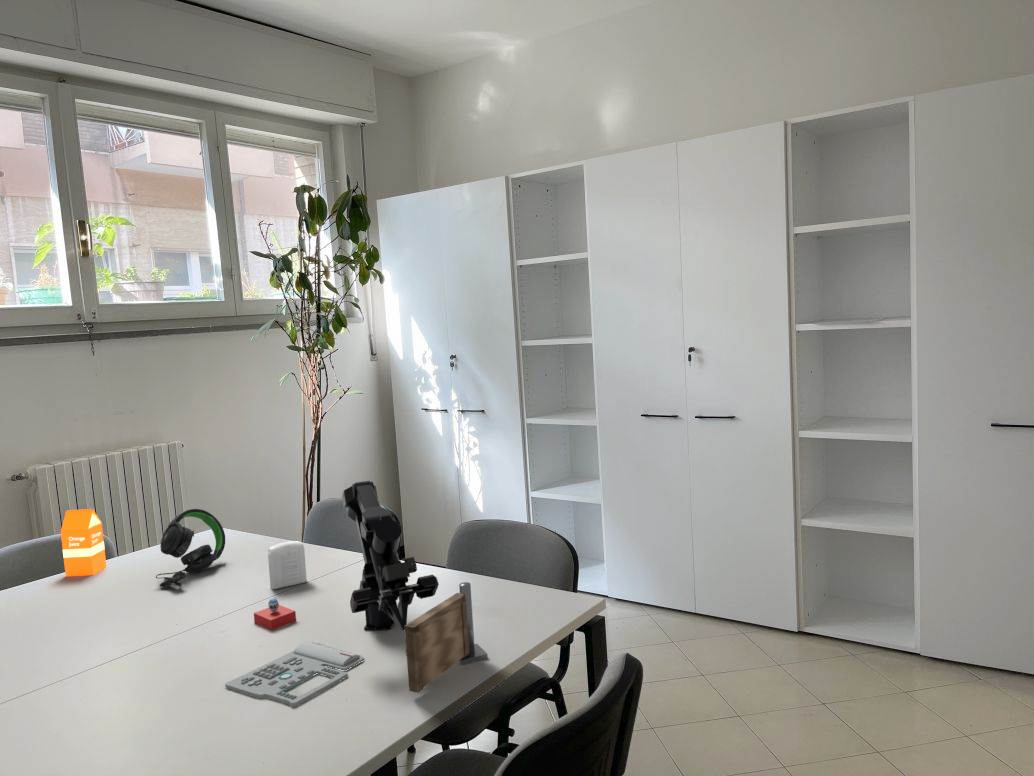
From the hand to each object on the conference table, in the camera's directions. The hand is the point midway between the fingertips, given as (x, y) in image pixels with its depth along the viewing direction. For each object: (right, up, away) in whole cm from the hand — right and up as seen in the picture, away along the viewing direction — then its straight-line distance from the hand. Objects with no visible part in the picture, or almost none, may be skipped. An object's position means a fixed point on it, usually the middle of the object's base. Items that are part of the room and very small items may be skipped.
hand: (404, 629), depth 162 cm
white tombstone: (-41, -5, +56) cm, 70 cm away
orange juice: (-112, -7, +80) cm, 138 cm away
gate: (+8, -6, -6) cm, 12 cm away
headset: (-74, -6, +71) cm, 103 cm away
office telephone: (-21, -10, -1) cm, 24 cm away
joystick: (-36, -8, +29) cm, 47 cm away
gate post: (+14, -7, +3) cm, 15 cm away
